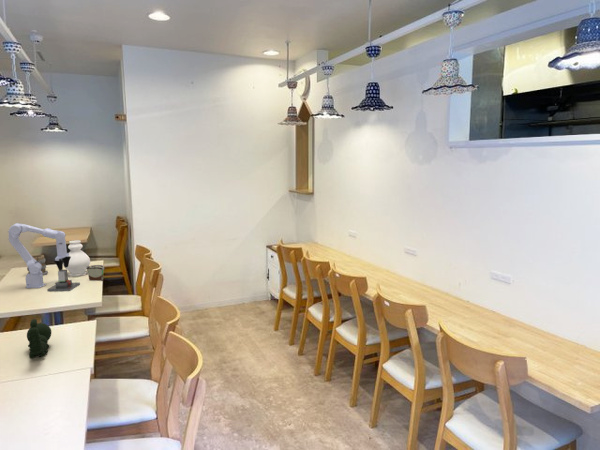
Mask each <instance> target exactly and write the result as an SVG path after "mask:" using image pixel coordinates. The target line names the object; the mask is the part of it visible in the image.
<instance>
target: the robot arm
mask: <svg viewBox="0 0 600 450" xmlns="http://www.w3.org/2000/svg"><path fill="white" fill-rule="evenodd" d="M26 232H30V233H35V234H39V235H42V237H45V238H49V239H52V240H53V239H55V241H56V243H55V245H56V254H57V255H56V257H55V258H54V261H53V262H54V263H55V265H56V267H57V269H58V271H59V270H64V268H65V267H68V265H69V260H70V258H71V256H69V252H67V250H68V249H67V241H66V233H65V232H64V231H63V230H58V229H56V230H55V229H51V227H48V228H46V227H45V228H44V229H43V228H40V227H36V226H33V225H29V224H25V223H19V222H16V223H14V224H12V225H11V226H9V229H8V231H7V233H8V242H9V243H10V244H11V246H12V247H13V248H14V249H15V251H16V252H17V253H18V254H19V256H20V258H21V259H22V260H23V261H24V263H25V264H26V268H27V267H28V268H29V271H28V272H30V274H26V275H25V289H38V288H43V287H45V286H46V285H47V283H44V276H43V274H42V271H41V269H42V265H41V264H40V263H39V262H37V261H36V260H35V259H34V258H33V257H32V256H33V255H32V254H31V253H30V252H29V250H28V249H27V248H26V247H25V246H24V243H22V241H20V235H21V233H26ZM63 263H64V266H63Z"/></svg>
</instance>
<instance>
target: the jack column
mask: <svg viewBox="0 0 600 450" xmlns="http://www.w3.org/2000/svg"><path fill="white" fill-rule="evenodd" d="M68 274H69V273H68V270H67V269H62V270H59V269H58V271H57V277H58V281H59V282H62V281H67V280H69V276H68Z"/></svg>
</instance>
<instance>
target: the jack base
mask: <svg viewBox="0 0 600 450" xmlns="http://www.w3.org/2000/svg"><path fill="white" fill-rule="evenodd" d="M80 285H81V283H80V282H73V281H72V279H68V280H67V281H62V282H59V280H58V281H56V282H55V283H54V285H53V286H50V287H48V288H47V289H46V290H47V292H71V291H72V290H73V289H76V288H77V287H79V286H80Z"/></svg>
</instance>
